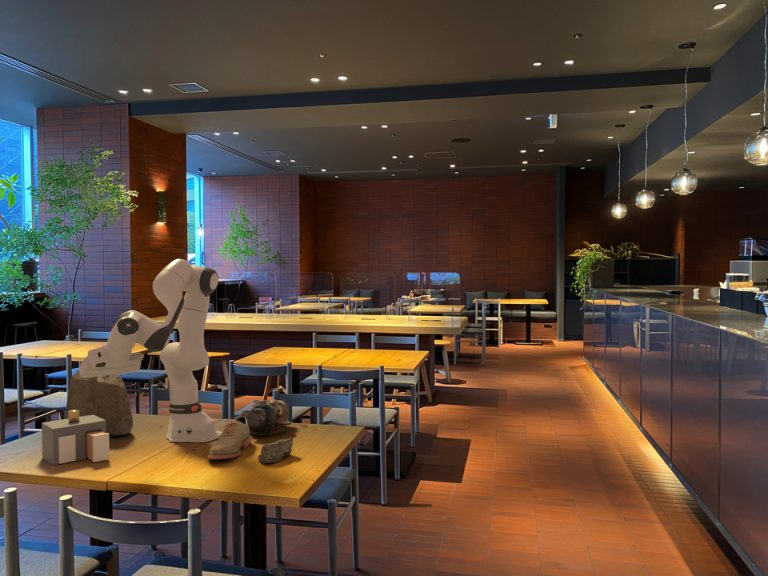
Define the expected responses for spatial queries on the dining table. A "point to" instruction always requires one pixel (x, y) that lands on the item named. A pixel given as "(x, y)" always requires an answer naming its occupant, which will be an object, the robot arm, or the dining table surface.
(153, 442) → the dining table surface
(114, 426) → the stone
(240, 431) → the oxford shoe
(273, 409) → the sculpture
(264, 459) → the rock
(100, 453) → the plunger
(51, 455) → the grey cabinet
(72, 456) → the thin beige tile
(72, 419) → the brass dial
